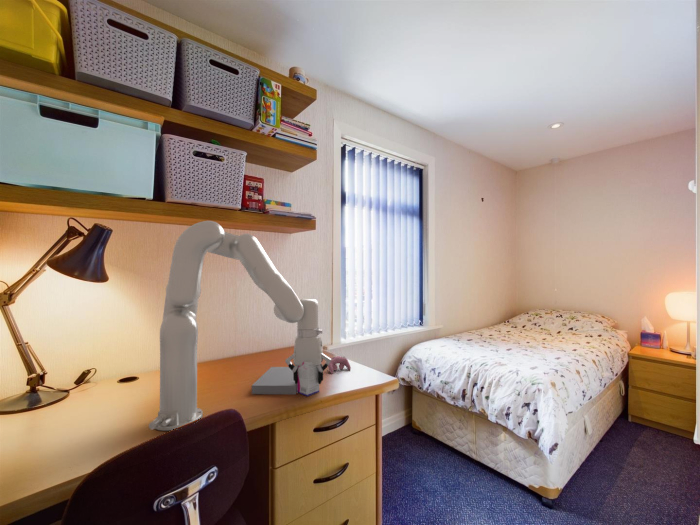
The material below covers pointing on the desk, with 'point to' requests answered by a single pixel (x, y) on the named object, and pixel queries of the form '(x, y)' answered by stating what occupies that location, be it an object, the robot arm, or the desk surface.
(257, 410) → the desk surface
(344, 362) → the pink toy elephant
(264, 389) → the riser
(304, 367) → the supplement box
